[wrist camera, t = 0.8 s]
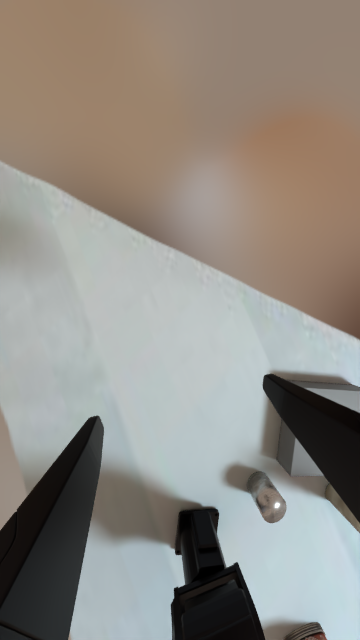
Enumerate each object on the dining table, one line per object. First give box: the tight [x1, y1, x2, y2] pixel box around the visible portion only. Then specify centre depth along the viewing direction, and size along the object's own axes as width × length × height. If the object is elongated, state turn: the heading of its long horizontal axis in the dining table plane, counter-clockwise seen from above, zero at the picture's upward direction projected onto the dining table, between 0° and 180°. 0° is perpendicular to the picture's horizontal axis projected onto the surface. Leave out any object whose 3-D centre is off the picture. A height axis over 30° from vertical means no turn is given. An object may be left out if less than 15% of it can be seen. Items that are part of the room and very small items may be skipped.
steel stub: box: [247, 472, 286, 523], centre depth 27 cm, size 4×4×4 cm
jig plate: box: [277, 380, 360, 477], centre depth 29 cm, size 14×14×3 cm
